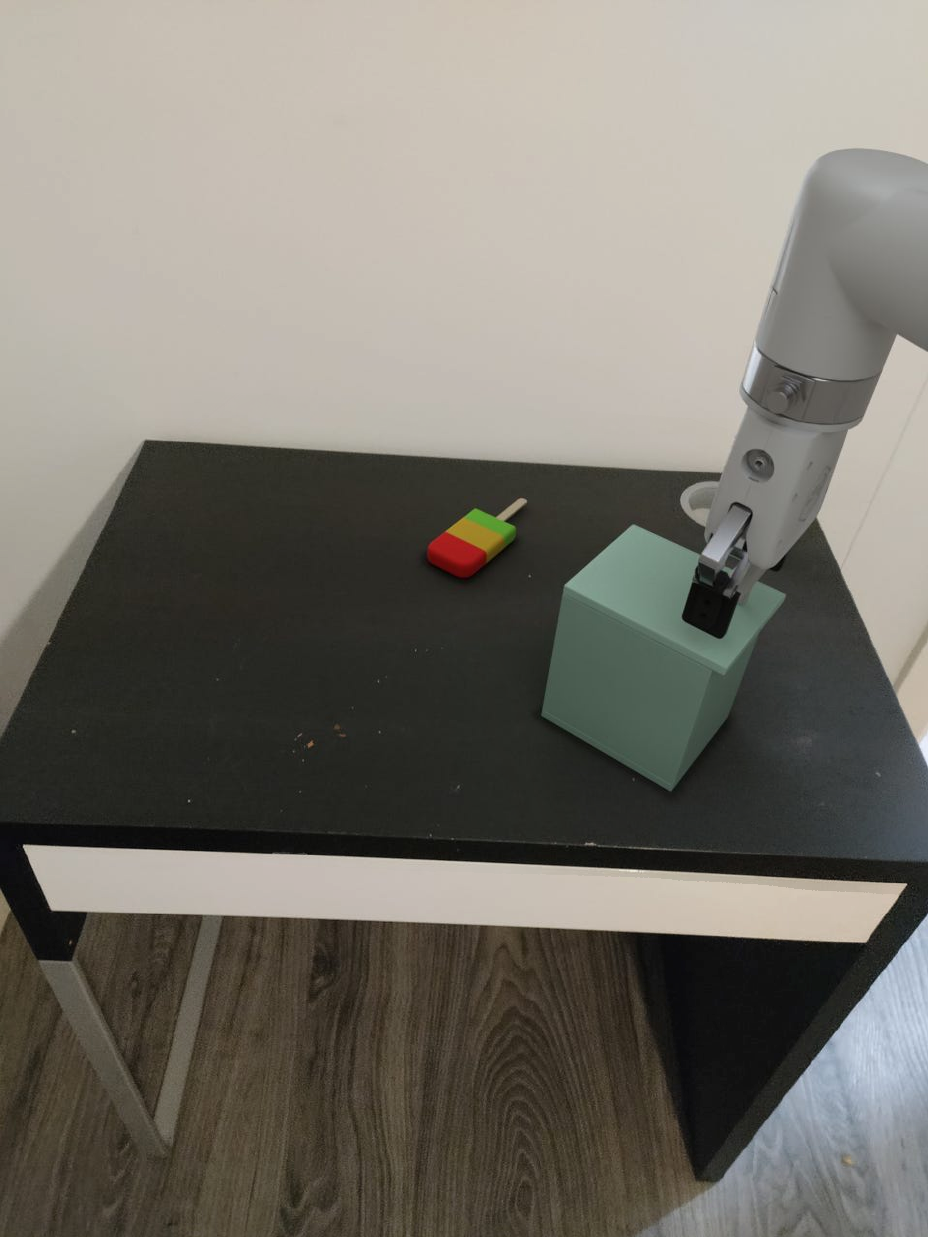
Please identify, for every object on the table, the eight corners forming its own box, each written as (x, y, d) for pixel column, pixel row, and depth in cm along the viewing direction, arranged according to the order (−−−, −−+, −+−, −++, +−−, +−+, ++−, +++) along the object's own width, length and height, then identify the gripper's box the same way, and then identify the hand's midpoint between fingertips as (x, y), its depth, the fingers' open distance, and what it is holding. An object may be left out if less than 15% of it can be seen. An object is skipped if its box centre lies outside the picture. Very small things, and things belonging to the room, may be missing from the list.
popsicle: (421, 561, 95) (422, 546, 93) (502, 497, 104) (504, 483, 103) (465, 583, 92) (467, 568, 91) (544, 516, 102) (546, 502, 101)
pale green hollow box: (727, 717, 81) (772, 597, 72) (670, 792, 75) (712, 671, 65) (604, 651, 86) (631, 531, 77) (540, 715, 80) (562, 593, 71)
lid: (783, 602, 72) (804, 548, 68) (724, 676, 65) (743, 621, 62) (631, 531, 77) (643, 478, 74) (562, 593, 71) (571, 538, 67)
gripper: (813, 460, 49) (728, 683, 61) (914, 353, 60) (825, 560, 71) (687, 409, 52) (629, 631, 64) (804, 316, 63) (736, 520, 74)
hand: (732, 593), depth 67 cm, fingers open, 9 cm apart
